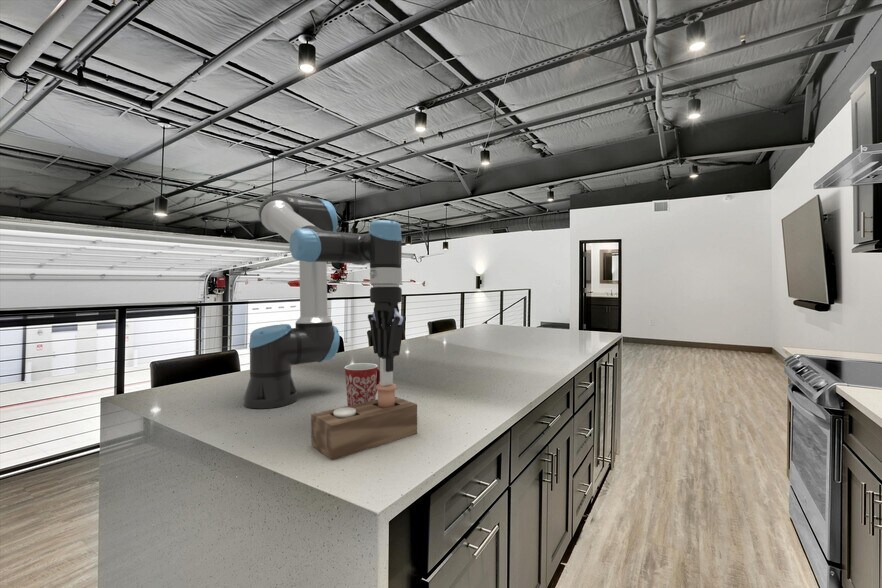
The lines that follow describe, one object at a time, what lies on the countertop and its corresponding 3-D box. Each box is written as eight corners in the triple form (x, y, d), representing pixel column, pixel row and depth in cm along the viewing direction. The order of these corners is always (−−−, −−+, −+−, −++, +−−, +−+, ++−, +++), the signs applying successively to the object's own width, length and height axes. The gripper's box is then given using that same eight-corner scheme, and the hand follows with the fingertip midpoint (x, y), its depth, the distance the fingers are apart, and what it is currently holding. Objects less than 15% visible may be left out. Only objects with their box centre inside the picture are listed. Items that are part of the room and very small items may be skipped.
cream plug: (329, 440, 87) (329, 410, 87) (349, 434, 90) (349, 406, 90) (340, 446, 83) (339, 415, 83) (360, 440, 86) (359, 410, 86)
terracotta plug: (372, 412, 94) (372, 385, 94) (389, 408, 97) (388, 382, 97) (383, 417, 90) (383, 389, 90) (400, 412, 94) (400, 385, 94)
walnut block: (311, 445, 87) (311, 414, 86) (393, 422, 101) (393, 395, 101) (332, 460, 79) (332, 425, 79) (417, 433, 94) (417, 404, 94)
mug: (363, 422, 102) (363, 370, 102) (337, 416, 106) (337, 367, 106) (392, 409, 113) (391, 362, 113) (367, 404, 117) (367, 359, 117)
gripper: (358, 286, 96) (358, 382, 96) (388, 285, 86) (388, 392, 86) (383, 286, 101) (384, 377, 101) (415, 285, 91) (415, 386, 91)
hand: (386, 384), depth 94 cm, fingers closed
